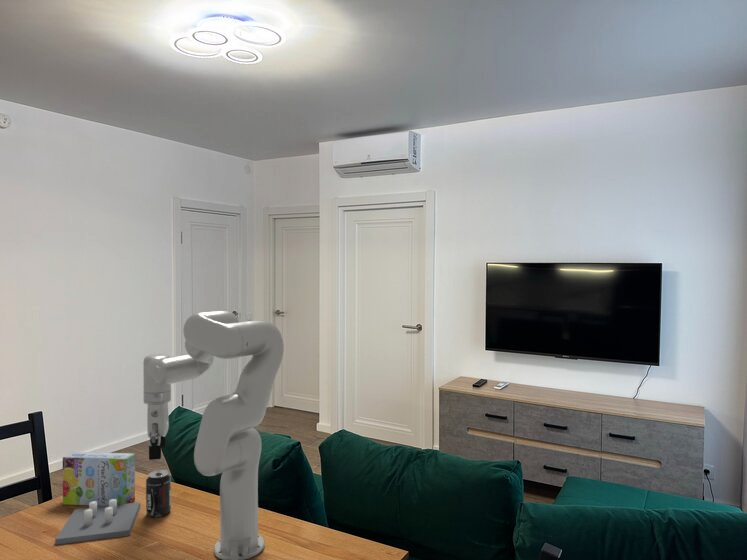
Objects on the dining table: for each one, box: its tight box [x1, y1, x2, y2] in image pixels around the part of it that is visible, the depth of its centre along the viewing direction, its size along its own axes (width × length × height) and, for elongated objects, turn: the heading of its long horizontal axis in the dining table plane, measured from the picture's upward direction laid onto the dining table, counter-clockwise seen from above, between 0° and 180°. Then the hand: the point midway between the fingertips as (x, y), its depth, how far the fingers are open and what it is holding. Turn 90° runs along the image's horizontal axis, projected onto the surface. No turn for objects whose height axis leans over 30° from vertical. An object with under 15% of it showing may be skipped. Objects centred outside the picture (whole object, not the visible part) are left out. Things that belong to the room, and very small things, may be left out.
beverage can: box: [145, 469, 172, 518], centre depth 156 cm, size 7×7×12 cm
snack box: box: [62, 451, 136, 507], centre depth 163 cm, size 21×6×15 cm, turn 84°
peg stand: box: [54, 499, 141, 545], centre depth 149 cm, size 18×18×6 cm
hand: (157, 453), depth 156 cm, fingers open, 9 cm apart
